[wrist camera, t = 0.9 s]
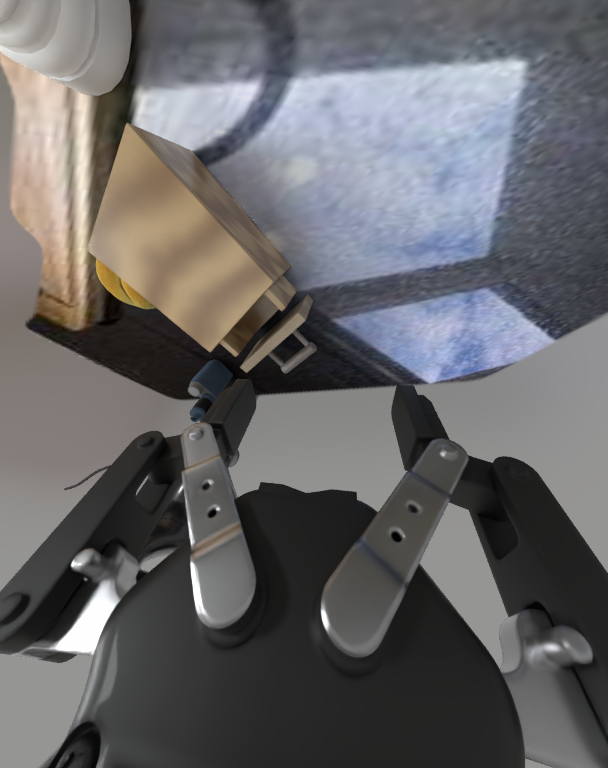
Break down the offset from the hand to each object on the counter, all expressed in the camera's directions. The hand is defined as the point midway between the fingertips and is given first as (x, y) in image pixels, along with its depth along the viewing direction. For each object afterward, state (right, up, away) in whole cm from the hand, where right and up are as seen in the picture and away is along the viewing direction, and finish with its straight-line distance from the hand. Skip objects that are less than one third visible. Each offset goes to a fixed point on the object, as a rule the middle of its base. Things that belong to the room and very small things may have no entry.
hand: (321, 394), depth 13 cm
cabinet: (-13, +18, +18) cm, 29 cm away
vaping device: (-16, +3, +30) cm, 35 cm away
